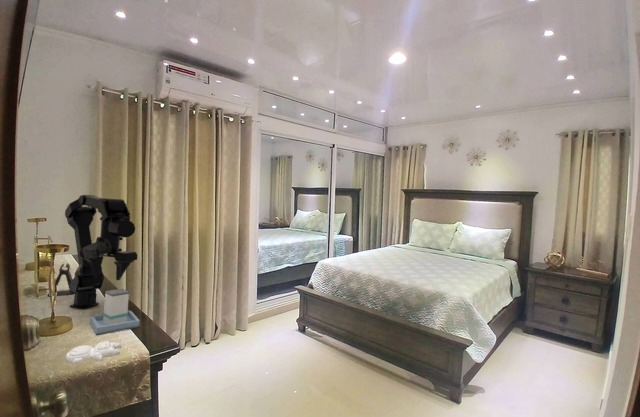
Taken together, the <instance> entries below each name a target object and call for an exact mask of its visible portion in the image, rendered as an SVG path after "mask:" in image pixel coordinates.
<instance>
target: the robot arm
mask: <svg viewBox="0 0 640 417" xmlns="http://www.w3.org/2000/svg"><path fill="white" fill-rule="evenodd" d="M97 212H98V213H99V214H100V215H101V217H100V218H99V220H100V221H101V226H100V236H97V237H96V240H95V242H92V241H93V240H92V235H91V229H90V226H91V224H92V223H93V221H94V216H95V215H96V214H97ZM130 215H131V213H130V211H129V208H128V207H127V204H126V202H125V199H122V198H120V199H119V198H108V197H105V198H104V197H99V196H97V195H91V194H82V195H79V196H78V199H76V200H74V201H72V202H70V203H69V204H68V205H67V207H66V208H65V212H64V216H65V218H66V220H67V221H66V222H67V224H68V225H69V226H70V227H71V228H72V229H73V232H74V238H75V245H76V253H77V258H78V267H77V268H76V270H75V271H74V277H73V280H72V282H71V283H70V290H71V291H73V292H75V295H74V296H73V297H74V299H73V303H72V304H70V305H69V307H70V308H74V309H81V310H85V309H89V308H92V307H95V306H98V305H100V303H99V302H97V297H98V296H97V290H98V289H99V290H100V289H102V287H103V283H104V279H105V275H104V272H103V267H102V265H103V260H104V257H107V258H108V257H109V258H114V260H115V261H114V262H113V263H114V265H115V266H116V270H115V280H116V281H120V280H121V279H122V277H123V275H124V274H125V272H126V270H128V267H129V266H130V265H131V263H134V262H135V261H136V260H138V252H136V251H131V250H125V251H123V249H122V248H120V241H123V238H130V237H132V236H133V235H134V233H135V231H136V226H135V224H134V223H133V221H131V220H130V219H131V216H130Z"/></svg>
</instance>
